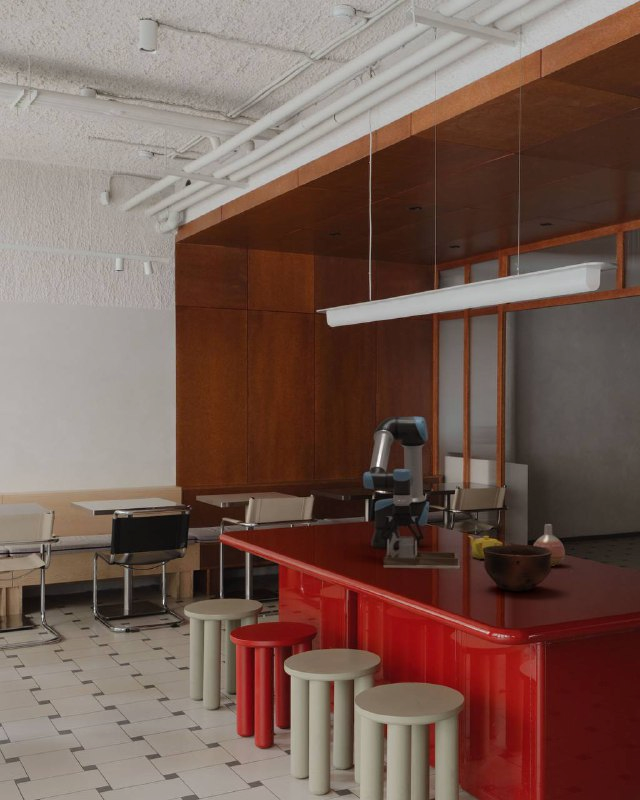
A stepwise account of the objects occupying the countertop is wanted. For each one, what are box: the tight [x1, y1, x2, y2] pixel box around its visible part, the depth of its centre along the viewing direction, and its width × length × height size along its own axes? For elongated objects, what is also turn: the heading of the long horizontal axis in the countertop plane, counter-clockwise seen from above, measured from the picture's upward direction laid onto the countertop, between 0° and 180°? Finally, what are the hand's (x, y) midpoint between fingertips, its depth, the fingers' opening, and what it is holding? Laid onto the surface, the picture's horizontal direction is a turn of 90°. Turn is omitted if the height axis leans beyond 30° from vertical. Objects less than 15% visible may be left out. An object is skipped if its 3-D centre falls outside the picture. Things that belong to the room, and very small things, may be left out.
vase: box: [532, 523, 566, 566], centre depth 387 cm, size 14×14×18 cm
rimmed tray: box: [383, 550, 461, 570], centre depth 392 cm, size 20×32×4 cm, turn 83°
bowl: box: [483, 544, 552, 592], centre depth 335 cm, size 25×25×15 cm
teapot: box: [467, 535, 503, 560], centre depth 406 cm, size 14×13×10 cm
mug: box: [389, 533, 416, 558], centre depth 393 cm, size 8×12×12 cm, turn 101°
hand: (402, 554), depth 393 cm, fingers closed on mug, 11 cm apart
